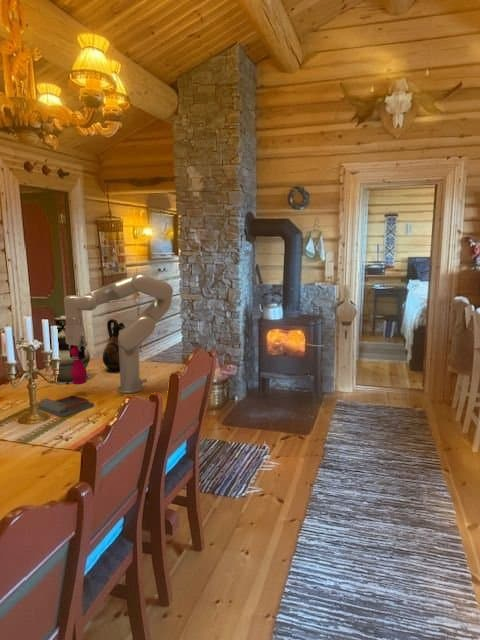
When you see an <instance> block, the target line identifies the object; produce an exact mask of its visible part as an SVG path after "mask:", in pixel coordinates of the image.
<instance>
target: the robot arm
mask: <svg viewBox="0 0 480 640" xmlns="http://www.w3.org/2000/svg"><path fill="white" fill-rule="evenodd" d="M173 290H174V289H173V287H172V286H171V284H170V283H168V282H167V281H164V280H163V281H162V280H159V279H156V278H153V277H150V276H149V275H147V274H145V273H143V272H139V273H136V274H135V273H134V274H133V275H130V276H128V277H125V278H123V279H120V280H118V281H115V282H113V283H110V284H108V285H106V286H103V287H101V288H97V289H96V290H92V291H90V292H88V293H86V294H85V295H81V296H80V295H77V294H75V295H74V294H73V295H72V294H71V295H66V296H64V298H63V304H64V315H65V316H66V326H65V341H66V344H67V345H68V347H69V351H71V348H72V347H74V346H78V349H79V351H78V356H79V359H84V358H85V348H86V347H87V346H88V343H87V341H86V332H85V327H84V322H83V321H84V320H83V311H94V310H95V309H97V307H98V306H102V305H103V304H105V303H109V302H111V301H119V300H121V299H124V298H127V297H129V296H132V295H134V294H137V293H142V294H143V295H144V294H145V295H147V296H149V297H153V298H154V299H153V300H152V302H151V303H150V304H149V305H148V306H147V307H146V308H145V309H144V310H143V311H142V312H141V313H140V314H138V315H137V316H136V318H135V319H134V322H133V323H132V324H131V325H130V326H129V327H125V328H124V329H122V330H120V331H119V336H118V342H119V362H120V372H119V378H120V379H119V381H120V382H119V383H120V386H118V387H117V392H118V393H121V394H135V393H139V392H141V391H143V390H144V386H143V384H144V383H147V382H148V381H147V378H143V379H141V377H140V376H141V374H140V351H139V346H140V345H141V344H142V343H143V342H145V341H146V339H147V338H148V337H149V336H151V334H152V333H154V330H155V329H156V324H157V323H158V322H159V320H161V319H162V318H163V317H164V316H165V314H167V312H168V311H169V309H170V307H171V305H172V301H173V292H174V291H173ZM80 346H82V347H81V348H80ZM86 349H87V348H86ZM72 356H73V355H72V354H71V352H70V358H72Z"/></svg>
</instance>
